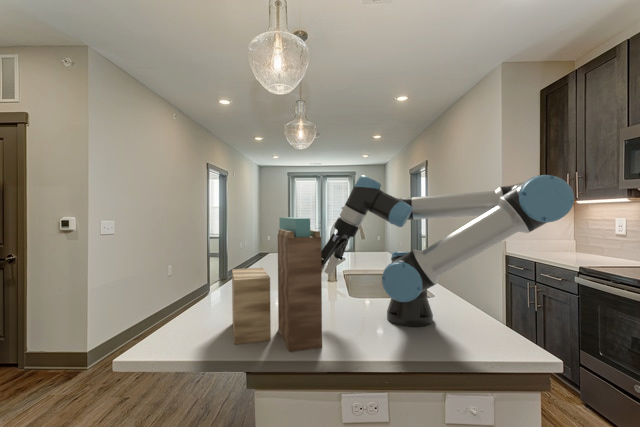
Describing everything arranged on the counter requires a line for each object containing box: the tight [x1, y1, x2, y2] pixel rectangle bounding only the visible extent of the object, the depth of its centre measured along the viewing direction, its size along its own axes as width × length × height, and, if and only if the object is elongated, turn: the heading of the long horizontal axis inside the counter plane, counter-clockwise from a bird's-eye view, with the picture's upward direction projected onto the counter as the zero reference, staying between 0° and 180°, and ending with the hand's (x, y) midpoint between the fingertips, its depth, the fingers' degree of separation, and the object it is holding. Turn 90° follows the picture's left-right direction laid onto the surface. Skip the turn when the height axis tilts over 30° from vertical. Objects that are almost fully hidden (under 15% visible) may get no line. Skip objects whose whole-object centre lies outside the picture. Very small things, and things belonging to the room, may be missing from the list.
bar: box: [278, 216, 311, 237], centre depth 101 cm, size 26×4×5 cm, turn 17°
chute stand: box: [277, 228, 323, 353], centre depth 94 cm, size 17×9×32 cm, turn 17°
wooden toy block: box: [231, 267, 272, 345], centre depth 100 cm, size 18×10×18 cm, turn 17°
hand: (320, 277), depth 108 cm, fingers open, 13 cm apart
